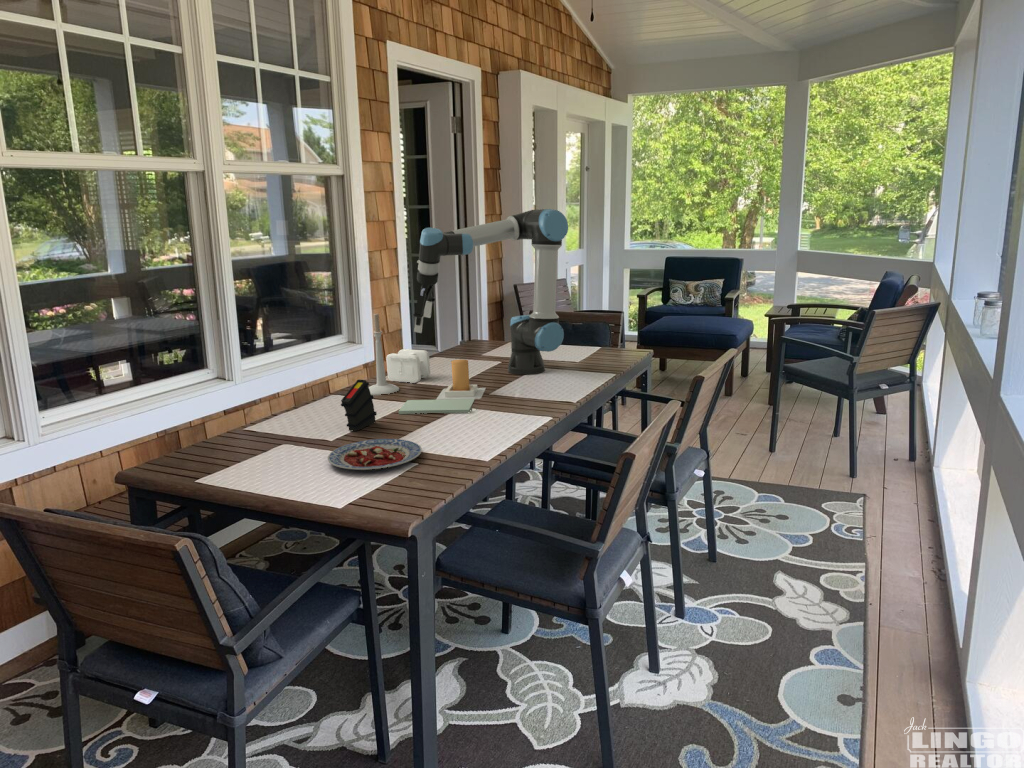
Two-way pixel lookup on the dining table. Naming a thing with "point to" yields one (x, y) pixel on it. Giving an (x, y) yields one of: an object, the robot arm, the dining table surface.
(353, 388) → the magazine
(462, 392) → the base
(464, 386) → the orange plug
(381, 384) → the candlestick
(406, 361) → the cable organizer
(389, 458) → the ceramic plate
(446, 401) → the sage board
